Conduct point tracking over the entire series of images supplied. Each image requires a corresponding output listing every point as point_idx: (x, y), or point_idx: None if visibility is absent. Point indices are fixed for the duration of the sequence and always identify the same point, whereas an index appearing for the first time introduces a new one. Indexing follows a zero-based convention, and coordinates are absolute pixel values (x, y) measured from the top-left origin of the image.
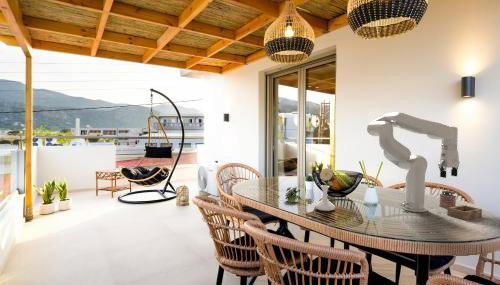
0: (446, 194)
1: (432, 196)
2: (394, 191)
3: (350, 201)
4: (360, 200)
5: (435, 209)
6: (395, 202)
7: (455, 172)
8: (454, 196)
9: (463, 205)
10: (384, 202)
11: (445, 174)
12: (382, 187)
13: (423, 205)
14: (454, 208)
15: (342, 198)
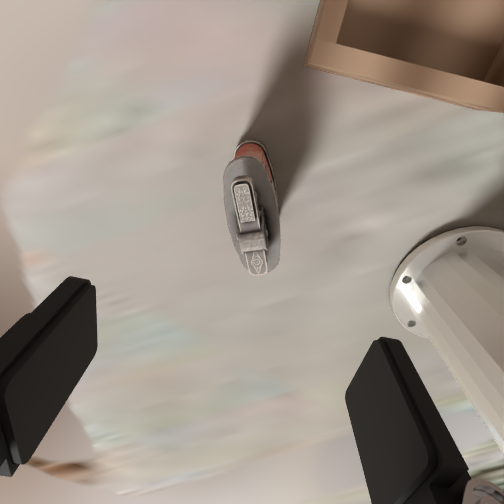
0: (266, 228)
1: None
2: (147, 451)
3: (492, 472)
4: None
5: (369, 214)
6: None
7: (53, 347)
8: (261, 164)
9: (326, 55)
10: None
11: (423, 389)
12: (124, 493)
13: (493, 258)
14: (465, 77)
15: None
